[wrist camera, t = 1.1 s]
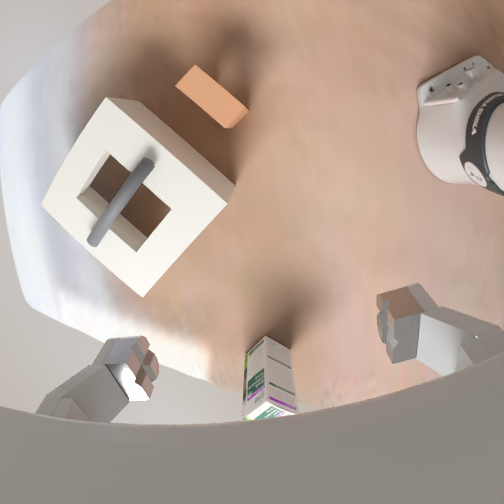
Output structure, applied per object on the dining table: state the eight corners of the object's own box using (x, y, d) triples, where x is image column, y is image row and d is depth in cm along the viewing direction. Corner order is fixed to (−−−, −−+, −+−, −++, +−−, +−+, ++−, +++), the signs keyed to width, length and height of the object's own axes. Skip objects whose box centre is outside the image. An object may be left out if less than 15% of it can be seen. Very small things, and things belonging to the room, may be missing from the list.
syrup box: (264, 333, 51) (264, 400, 37) (292, 349, 52) (298, 415, 39) (244, 354, 53) (239, 419, 39) (271, 368, 54) (272, 433, 40)
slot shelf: (139, 101, 37) (99, 96, 26) (235, 185, 42) (225, 207, 31) (79, 187, 42) (33, 208, 31) (164, 263, 46) (138, 304, 36)
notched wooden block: (209, 77, 36) (194, 64, 27) (249, 111, 38) (245, 107, 29) (194, 94, 37) (175, 85, 28) (233, 127, 39) (224, 128, 30)
